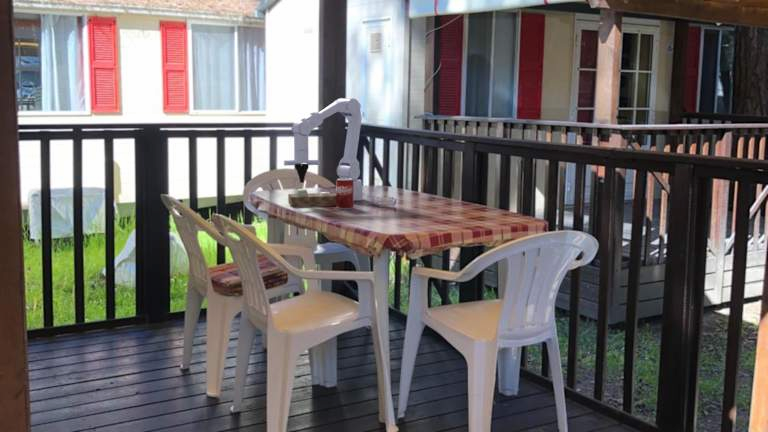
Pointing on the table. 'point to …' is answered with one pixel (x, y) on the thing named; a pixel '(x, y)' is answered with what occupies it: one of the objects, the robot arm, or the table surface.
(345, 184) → the soda can
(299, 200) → the button panel
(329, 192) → the cream button
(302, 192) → the sage button
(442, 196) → the table surface
